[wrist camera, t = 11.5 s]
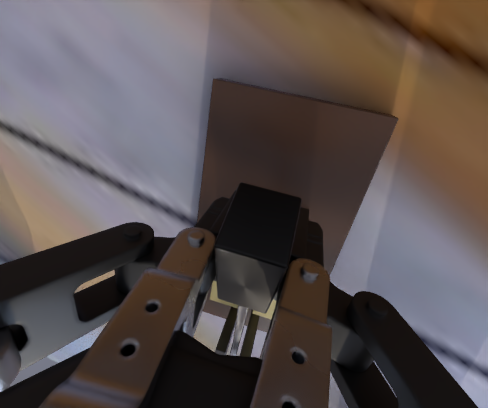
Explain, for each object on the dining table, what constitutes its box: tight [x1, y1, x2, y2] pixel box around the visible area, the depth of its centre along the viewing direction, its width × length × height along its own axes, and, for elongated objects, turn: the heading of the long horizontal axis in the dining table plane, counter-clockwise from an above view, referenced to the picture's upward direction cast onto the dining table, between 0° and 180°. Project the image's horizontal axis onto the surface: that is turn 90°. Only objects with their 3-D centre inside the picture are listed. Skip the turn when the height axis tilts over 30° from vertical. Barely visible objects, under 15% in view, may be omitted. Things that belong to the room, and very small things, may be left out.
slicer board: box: [197, 79, 398, 357], centre depth 20 cm, size 22×12×8 cm, turn 170°
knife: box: [214, 182, 302, 356], centre depth 16 cm, size 19×2×5 cm, turn 170°
